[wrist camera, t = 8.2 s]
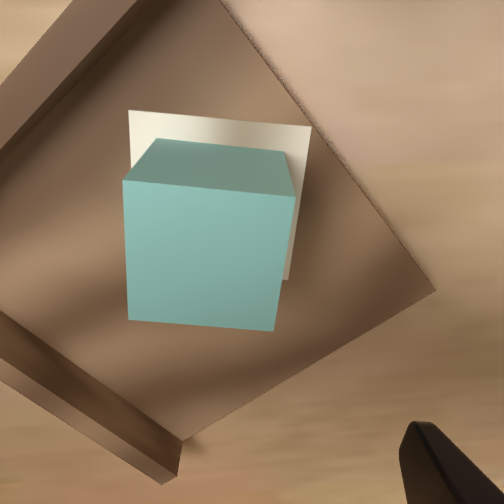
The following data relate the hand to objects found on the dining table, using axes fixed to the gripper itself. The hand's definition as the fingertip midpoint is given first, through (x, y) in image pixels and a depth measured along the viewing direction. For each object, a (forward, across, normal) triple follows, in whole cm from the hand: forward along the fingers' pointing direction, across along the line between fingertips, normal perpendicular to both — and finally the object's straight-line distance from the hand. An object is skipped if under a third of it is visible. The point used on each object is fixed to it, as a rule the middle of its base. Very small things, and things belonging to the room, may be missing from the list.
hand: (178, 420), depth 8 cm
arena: (+12, +2, +4) cm, 13 cm away
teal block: (+11, 0, 0) cm, 11 cm away
